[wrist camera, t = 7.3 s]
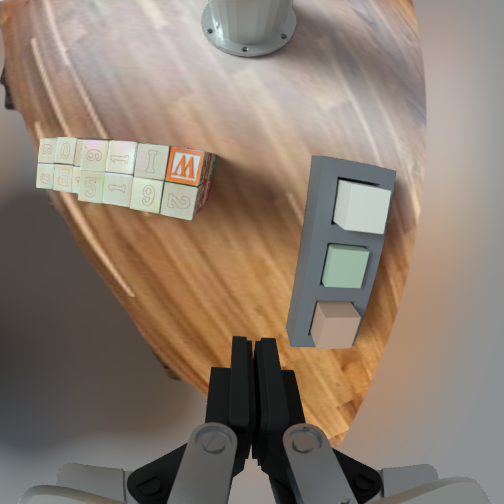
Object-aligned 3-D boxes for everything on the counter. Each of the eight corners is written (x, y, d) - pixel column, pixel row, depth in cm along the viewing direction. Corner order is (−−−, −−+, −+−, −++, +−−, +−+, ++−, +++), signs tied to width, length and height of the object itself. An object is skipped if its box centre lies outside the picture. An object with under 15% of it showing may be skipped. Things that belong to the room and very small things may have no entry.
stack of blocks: (73, 178, 33) (19, 191, 21) (78, 137, 31) (24, 136, 19) (208, 200, 35) (192, 222, 24) (218, 153, 33) (206, 151, 22)
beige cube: (315, 297, 36) (325, 317, 32) (348, 298, 37) (361, 317, 32) (308, 327, 38) (316, 348, 33) (340, 327, 38) (350, 347, 34)
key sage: (321, 236, 36) (332, 248, 31) (354, 239, 36) (369, 251, 32) (315, 270, 38) (325, 286, 33) (347, 272, 38) (360, 288, 33)
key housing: (312, 155, 33) (324, 155, 28) (378, 168, 34) (398, 171, 29) (286, 327, 42) (291, 349, 37) (343, 327, 43) (354, 348, 37)
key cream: (336, 179, 31) (351, 183, 26) (371, 185, 31) (391, 190, 27) (330, 218, 33) (344, 229, 28) (365, 223, 33) (383, 234, 28)
